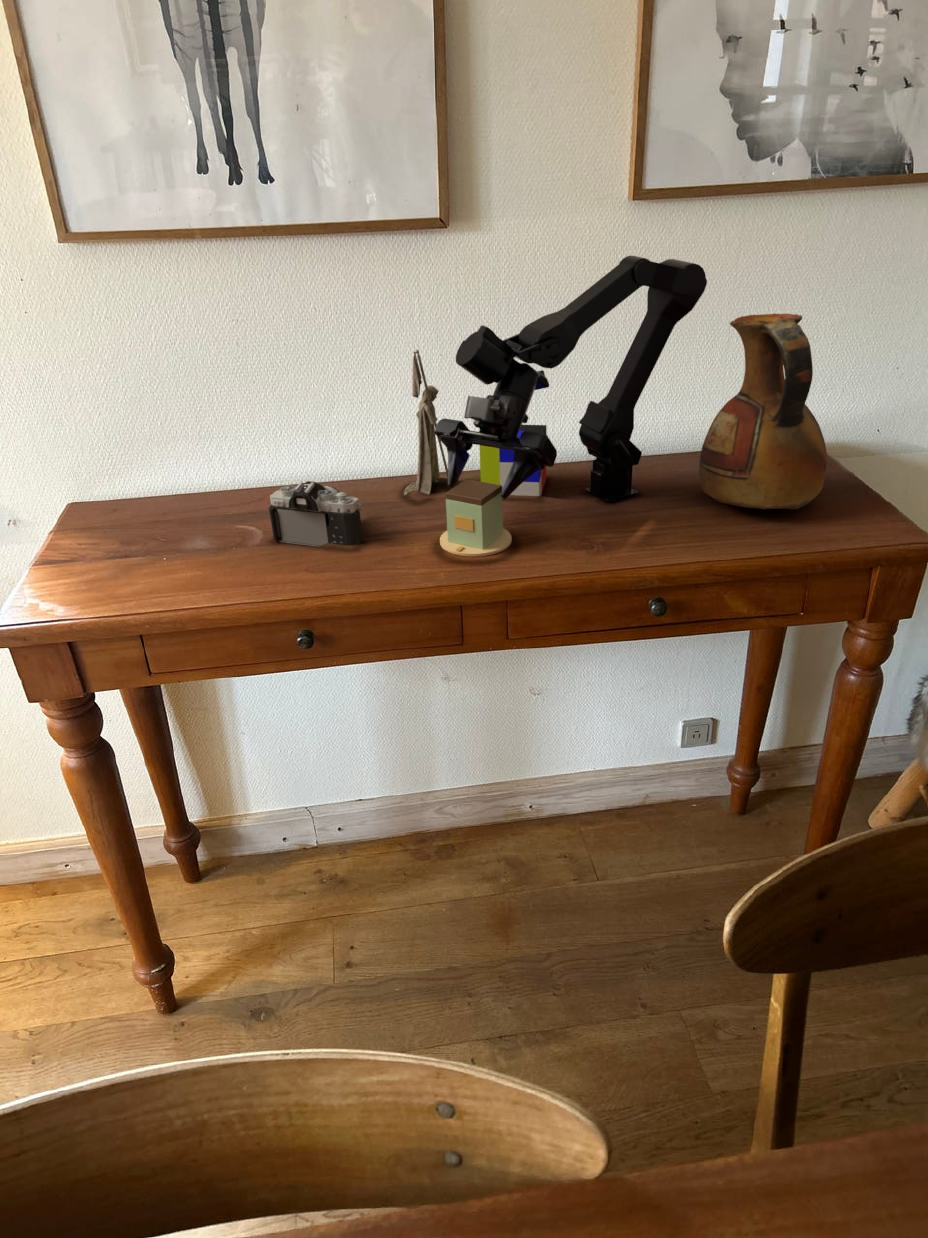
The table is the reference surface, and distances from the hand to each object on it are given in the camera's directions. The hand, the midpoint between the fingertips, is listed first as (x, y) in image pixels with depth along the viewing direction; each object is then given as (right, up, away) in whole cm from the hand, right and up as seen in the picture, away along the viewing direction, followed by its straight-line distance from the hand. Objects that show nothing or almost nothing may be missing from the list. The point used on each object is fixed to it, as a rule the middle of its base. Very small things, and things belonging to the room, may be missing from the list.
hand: (476, 492), depth 134 cm
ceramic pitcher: (+47, 0, +14) cm, 49 cm away
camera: (-24, -6, +9) cm, 26 cm away
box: (0, -7, +3) cm, 8 cm away
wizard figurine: (-8, +3, +24) cm, 26 cm away
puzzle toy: (+7, +4, +24) cm, 25 cm away
